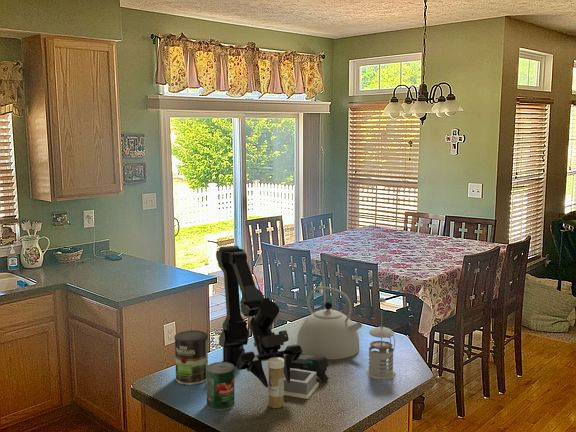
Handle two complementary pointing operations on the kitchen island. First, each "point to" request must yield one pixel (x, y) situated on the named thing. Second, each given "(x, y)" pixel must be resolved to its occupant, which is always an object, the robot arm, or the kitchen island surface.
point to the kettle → (329, 332)
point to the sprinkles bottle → (276, 382)
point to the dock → (301, 383)
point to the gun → (312, 365)
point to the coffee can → (191, 357)
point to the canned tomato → (220, 385)
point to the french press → (381, 353)
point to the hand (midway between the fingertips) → (278, 384)
